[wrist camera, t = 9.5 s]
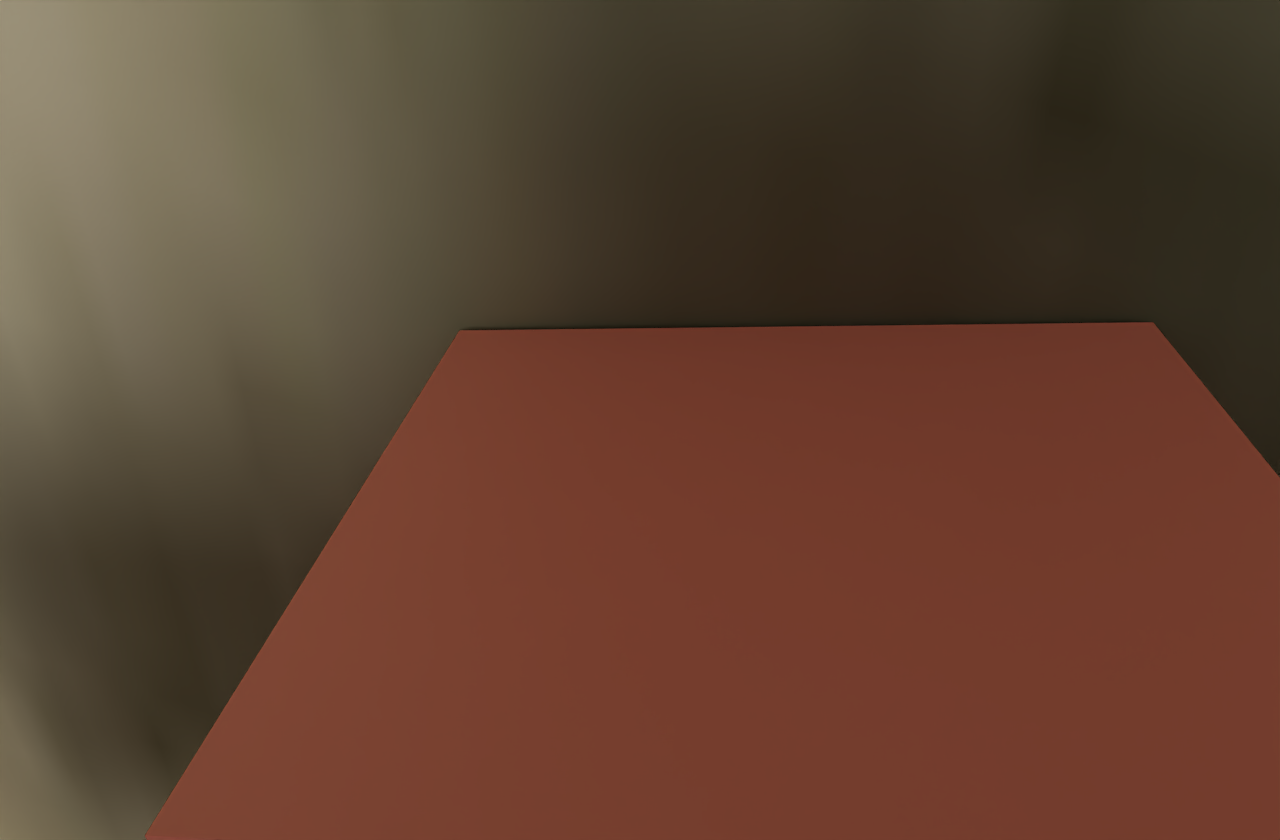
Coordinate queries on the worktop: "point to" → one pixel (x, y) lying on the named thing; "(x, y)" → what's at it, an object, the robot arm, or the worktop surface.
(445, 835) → the salmon red block
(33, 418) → the worktop surface
